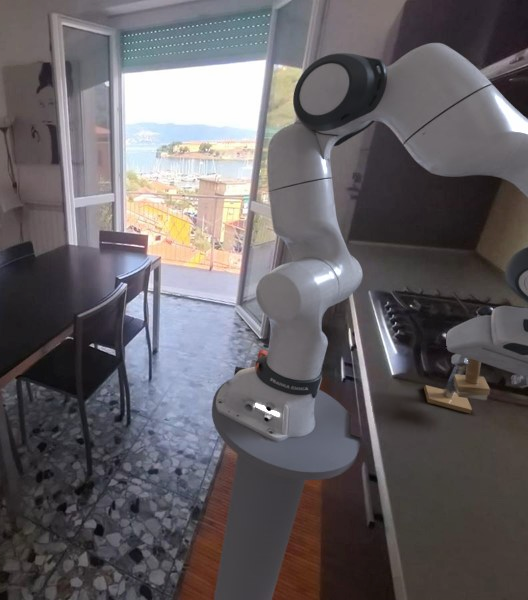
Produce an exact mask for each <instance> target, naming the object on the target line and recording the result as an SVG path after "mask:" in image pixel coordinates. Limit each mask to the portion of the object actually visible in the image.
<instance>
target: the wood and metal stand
mask: <svg viewBox="0 0 528 600" xmlns="http://www.w3.org/2000/svg"><path fill="white" fill-rule="evenodd" d="M493 309H494V308H493V307H492V306H489V305H482V306H480V307H479V308H478V309H477V315H476V317H479V316H491V315H492V310H493ZM465 373H466V365H465V366H463V367H461V366H458V365H454V367H453V369H452V370H451V373H450V375H449V377H448V380H447V381H446V384H445V387H444V389H443V388H439V387H434V386H431V385H427V384H425V386H424V387H423V390H424V394H425V399H426V402H427V403H428V404H432V405H436V406H440V407H443V408H447V409H451V410H454V411H459V412H462V413H466V414H470V415H471V413H472V411H473V408H472V405H471V403H470V401H469V398H463V397H458V394H457V392H456V389H455V387H454V380H453V379H454V374H458V375H465Z"/></svg>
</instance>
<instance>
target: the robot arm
mask: <svg viewBox="0 0 528 600" xmlns="http://www.w3.org/2000/svg"><path fill="white" fill-rule="evenodd" d="M294 87H295V88H294V91H293V97H292V104H293V105H292V107H293V110H294V113H295V115H296V117H297V119H298V120H296V121H295V122H294V123H292V124H289V125H286V126H284V127H283V128H281V129H279V130H278V131H276V132H275V133H274V134H273V135H272V137H271V139H269V142H268V145H267V154H266V180H267V193H268V200H269V208H270V217H271V225H272V230H273V232H274V234H275V235H276V236H277V237H279V238H280V239H282V241H283V242H284V244H286V247H287V249H288V251H289V253H290V256H291V259H292V260H291V261H290V262H287V263H283V264H280V265H277V266H276V267H275V268H273V269H272V270H270V271H269V272H267V274H265V275H264V276H262V277H261V279H259V281H258V283H257V285H256V289H255V300H256V302H257V305H258V307H259V310H261V312H262V313H263V314H264V315H265V317H267V318H268V320H269V324H270V336H269V342H268V348H267V350H266V349H263V348H262V349H260V350H259V351H258V353H257V360H256V362H255V366H252V367H247V368H245V367H241V366H235V368H234V375H233V377H232V378H231V380H230V379H229V380H230V381H228V380H227V381H228V382H227V381H225V382H226V383H225V382H224V383H225V384H224V383H223V384H224V385H223V386H222V387H221V389H220V390H219V392H218V395H217V398H216V409H217V411H218V412H219V413H221V414H223V415H225V416H226V417H228V418H230V419H232V420H234V421H236V422H238V423H240V424H242V425H244V426H246V427H248V428H250V429H252V430H254V431H256V432H258V433H260V434H262V435H264V436H265V437H267V438H269V439H271V440H273V441H276V442H279V441H283V440H285V439H287V438H291V437H301V436H305V435H307V434H309V433H311V432H312V431H313V429H314V427H315V417H314V404H315V397H316V395H317V393H318V391H319V390H320V387H321V384H322V380H323V371H322V368H323V365H324V360H325V356H326V352H327V350H328V349H327V348H328V345H329V342H328V341H329V340H328V337H327V336H326V334H325V332H323V330H322V329H323V328H322V327H323V326H322V321H323V317H324V315H325V312H326V311H327V310H328V309H329V308H331V307H333V306H335V305H337V304H339V303H342V302H343V301H345V300H347V299H348V298H349V297H350V296H352V295H353V294H354V293H355V291H356V290H357V289H358V288H359V287H360V285H361V283H362V281H363V268H362V266H361V264H360V262H359V260H358V259H356V257H354V256H353V255H352V254H351V253H350V251H349V249H348V247H347V244H346V241H345V239H344V236H343V235H342V231H341V228H340V226H339V222H338V217H337V209H336V202H335V192H334V184H333V173H332V165H331V163H332V162H331V155H332V149H333V147H338V146H340V145H342V144H343V143H345V142H346V141H348V140H350V139H351V138H353V137H355V136H357V135H358V134H360V133H362V132H364V131H365V130H367V129H368V128H369V127H371V126H372V125H373V124H374V123H375V122H379V123H383V125H386V126H387V127H388V128H389V129H390V130H391V131H392V133H394V135H395V136H396V138H397V139H398V140H399V141H400V143H401V144H402V145H403V148H405V150H406V151H407V152H408V154H410V156H411V158H412V159H413V160H414V161H415V162H416V163H417V164H418V165H420V166H421V167H422V168H423V169H424V170H426V171H427V172H429V173H430V174H433V175H437V176H441V177H453V178H454V177H456V178H457V177H459V178H460V177H468V176H469V177H470V176H489V177H494V178H495V177H496V178H500V179H502V180H505V181H507V182H509V183H511V184H512V185H514V186H515V187H516V188H517V189H518V190H519V191H520V192H521V193H522V194H524V196H525V197H527V198H528V117H526V116H524V115H523V114H522V113H521V112H520V111H519V110H518V109H517V108H515V106H513V104H511V102H509V101H508V100H507V98H505V96H504V95H503V94H502V93H501V92H500V91H499V89H498V88H496V86H494V84H493V82H491V80H489V79H488V78H487V76H486V75H485V74H484V73H483V72H481V70H480V69H478V68H477V67H476V66H475V65H474V64H473V63H472V62H470V60H469V59H468V58H466V57H464V56H463V55H462V54H460V53H459V52H457V51H456V50H454V49H453V48H451V47H450V46H449V45H446V44H444V43H441V42H430V43H429V42H428V43H426V44H423V45H420V46H417V47H415V48H414V49H411V50H410V51H409V52H406V53H405V54H404V55H403V56H401V57H400V58H399V59H397V60H396V61H395V62H393V63H391V64H390V65H388V66H386V64H385V62H384V60H383V59H381V58H377V57H376V58H375V57H370V56H364V55H360V54H355V53H347V52H339V53H331V54H328V55H324V56H323V57H320V58H319V59H317V60H315V61H314V62H312V63H311V64H309V66H308V67H306V69H305V70H304V71H303V73H302V74H301V75H300V77H299V79H298V81H297V82H296V85H295V86H294ZM504 274H505V275H504V276H505V279H506V280H505V281H506V282H507V284H508V286H509V288H510V289H511V290H512V291H513V292H514V294H516V295H517V296H518V297H519V298H521V299H522V300H524V301H525V302H526V303H528V245H526V246H525V247H523V248H522V249H520V250H518V251H517V252H515V253H514V254H512V256H510V258H509V259H508V261H507V263H506V265H505V270H504ZM446 346H447V347H446V349H447V351H448V352H450V353H452V354H453V355H452V356H451V361H450V362H451V364H452V365H454V366H455V365H458V366H461V367H463V366H465V365H468V360H467V359H473V360H476V361H479V362H481V364H486V365H488V366H491V367H494V368H497V369H500V370H503V371H506V372H508V373H512V375H511V376H510V380H511V381H510V384H511V385H512V386H516V387H518V388H521V389H523V388H527V387H528V308H526V307H519V306H511V305H499V306H496V307H495V308H493V310H492V315H491V316H479V317H477V316H476V317H473V318H470V319H468V320H466V321H464V322H461V323H460V324H457V325H455V326H454V327H452V328H450V329H449V330H447V335H446Z"/></svg>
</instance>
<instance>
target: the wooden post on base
mask: <svg viewBox="0 0 528 600" xmlns="http://www.w3.org/2000/svg"><path fill="white" fill-rule="evenodd" d="M467 360H468V365H466V370H465V372H464V375H458V374H454V379H453V380H454V387H455V389H456V392H455V393H457V394H458V397H463V398H468V399H471V400H472V399H473V400H481V401H488V396H490V393H491V388H490V386H489V384H488V382H487V380H486V378H485V376H481V375H480V373H481V365H482V362H479V361H476V360H473V359H467Z"/></svg>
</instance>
